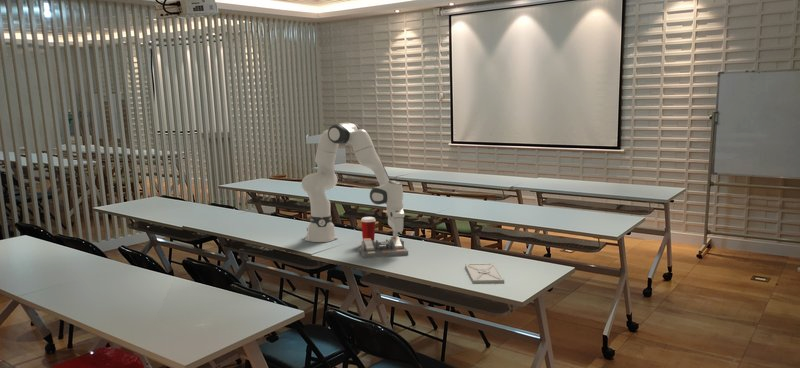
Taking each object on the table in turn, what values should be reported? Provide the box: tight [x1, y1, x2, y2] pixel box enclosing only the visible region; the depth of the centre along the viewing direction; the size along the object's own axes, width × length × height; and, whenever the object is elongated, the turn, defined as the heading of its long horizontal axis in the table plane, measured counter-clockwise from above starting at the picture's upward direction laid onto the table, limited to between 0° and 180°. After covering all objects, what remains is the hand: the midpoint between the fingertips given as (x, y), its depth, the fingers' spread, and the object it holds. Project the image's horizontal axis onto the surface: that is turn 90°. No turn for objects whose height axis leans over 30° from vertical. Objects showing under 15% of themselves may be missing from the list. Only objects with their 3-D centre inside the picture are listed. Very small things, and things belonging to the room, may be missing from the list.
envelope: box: [464, 262, 505, 284], centre depth 268 cm, size 24×2×14 cm
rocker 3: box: [390, 236, 403, 249], centre depth 309 cm, size 10×4×1 cm, turn 13°
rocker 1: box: [362, 238, 374, 250], centre depth 305 cm, size 10×4×1 cm, turn 13°
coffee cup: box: [360, 216, 377, 242], centre depth 322 cm, size 8×8×15 cm
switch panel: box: [359, 238, 409, 259], centre depth 305 cm, size 14×23×6 cm, turn 104°
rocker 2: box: [378, 240, 389, 246], centre depth 307 cm, size 10×4×1 cm, turn 14°
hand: (395, 236), depth 312 cm, fingers closed
